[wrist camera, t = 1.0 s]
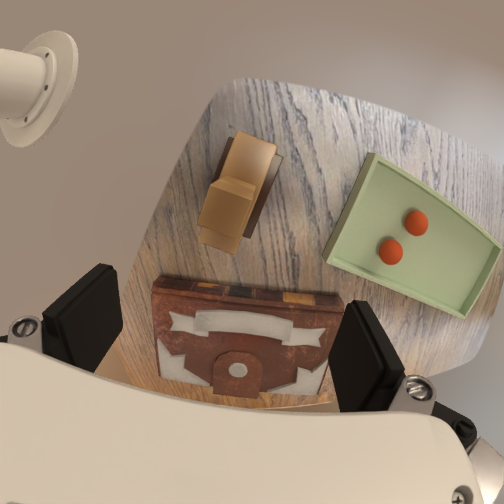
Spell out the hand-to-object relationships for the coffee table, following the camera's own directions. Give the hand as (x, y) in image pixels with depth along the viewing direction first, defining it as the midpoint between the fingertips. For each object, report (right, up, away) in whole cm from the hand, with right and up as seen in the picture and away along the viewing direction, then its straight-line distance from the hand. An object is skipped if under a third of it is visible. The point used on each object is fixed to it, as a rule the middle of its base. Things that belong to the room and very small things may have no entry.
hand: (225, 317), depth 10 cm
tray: (+24, +3, +20) cm, 32 cm away
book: (0, -9, +26) cm, 28 cm away
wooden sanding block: (0, +8, +13) cm, 15 cm away
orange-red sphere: (+17, +2, +19) cm, 25 cm away
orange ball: (+20, +6, +17) cm, 27 cm away
